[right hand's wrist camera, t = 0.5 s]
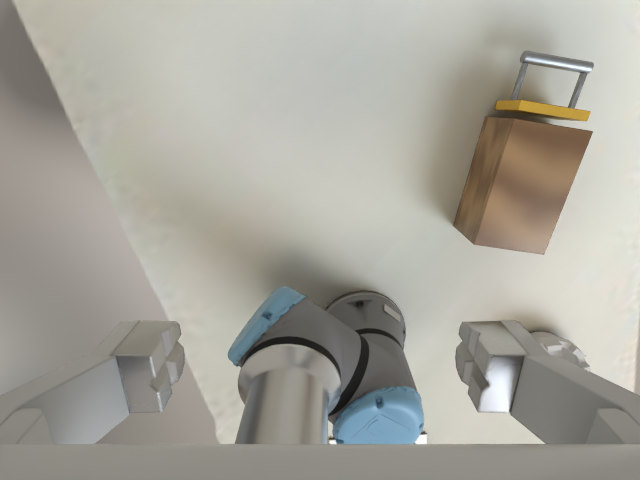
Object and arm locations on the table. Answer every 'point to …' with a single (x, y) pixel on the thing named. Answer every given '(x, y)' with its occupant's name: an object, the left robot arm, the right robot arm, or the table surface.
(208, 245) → the table surface
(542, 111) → the drawer
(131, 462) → the right robot arm
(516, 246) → the wooden drawer cabinet
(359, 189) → the table surface
